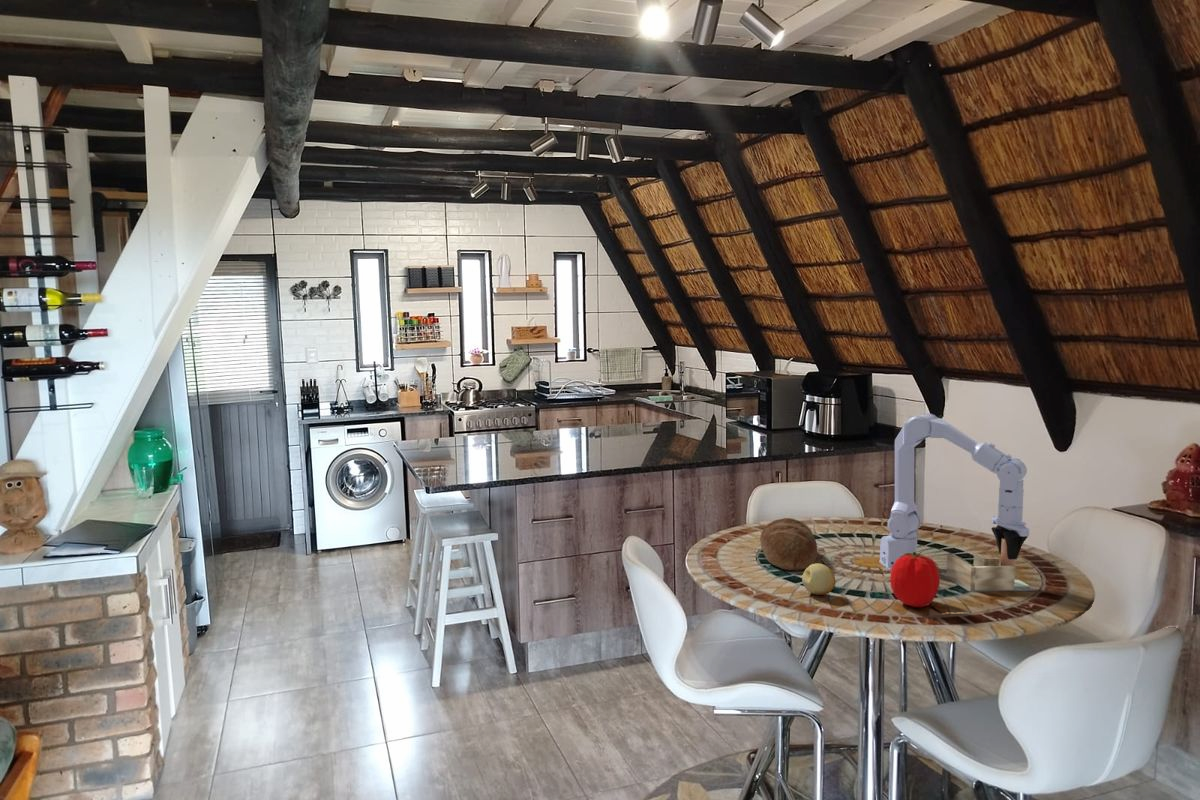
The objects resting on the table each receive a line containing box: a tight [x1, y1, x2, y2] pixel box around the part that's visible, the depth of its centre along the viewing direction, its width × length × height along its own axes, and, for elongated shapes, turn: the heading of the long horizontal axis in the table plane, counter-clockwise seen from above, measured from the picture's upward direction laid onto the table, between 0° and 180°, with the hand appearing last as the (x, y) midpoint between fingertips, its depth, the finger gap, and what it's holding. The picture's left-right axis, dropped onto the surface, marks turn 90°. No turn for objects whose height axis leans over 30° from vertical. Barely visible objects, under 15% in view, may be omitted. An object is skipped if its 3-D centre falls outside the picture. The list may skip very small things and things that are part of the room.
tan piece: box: [945, 553, 1016, 591], centre depth 218 cm, size 12×13×6 cm
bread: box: [759, 517, 818, 571], centre depth 243 cm, size 16×29×11 cm, turn 174°
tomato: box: [889, 550, 941, 608], centre depth 201 cm, size 12×12×13 cm
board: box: [939, 572, 1037, 593], centre depth 219 cm, size 18×16×1 cm
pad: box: [1014, 579, 1030, 587], centre depth 217 cm, size 5×5×1 cm
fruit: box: [801, 562, 836, 596], centre depth 209 cm, size 8×8×8 cm
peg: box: [999, 538, 1017, 568], centre depth 216 cm, size 4×4×8 cm
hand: (1008, 556), depth 216 cm, fingers closed on peg, 3 cm apart
